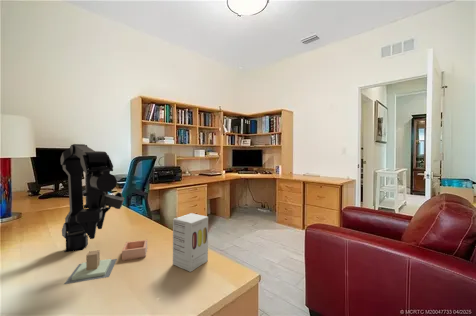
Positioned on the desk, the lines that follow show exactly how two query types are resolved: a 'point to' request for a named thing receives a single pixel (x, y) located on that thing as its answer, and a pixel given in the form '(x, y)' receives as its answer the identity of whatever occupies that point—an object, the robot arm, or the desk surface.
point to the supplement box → (190, 241)
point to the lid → (92, 266)
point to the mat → (91, 277)
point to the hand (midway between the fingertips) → (96, 233)
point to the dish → (134, 250)
